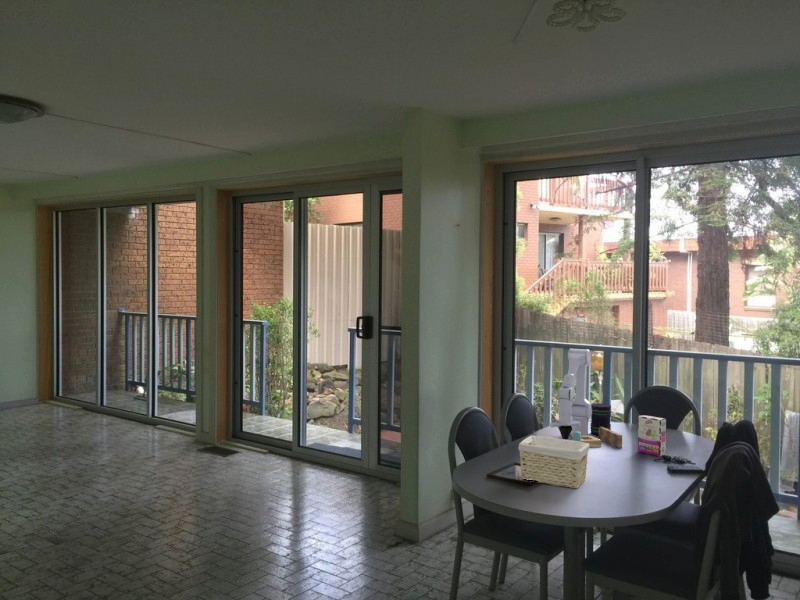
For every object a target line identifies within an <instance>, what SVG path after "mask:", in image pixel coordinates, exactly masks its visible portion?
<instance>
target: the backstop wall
mask: <svg viewBox="0 0 800 600" xmlns="http://www.w3.org/2000/svg"><path fill="white" fill-rule="evenodd" d="M598 439H600V440H602V441H601V442H603V443H606V444H608V445H610V444H611V446H612V445H613V446H612V447H614V446H615V447H614V448H616V447H617V448H616V449H622V448H623V435H622V434H620V433H618V432H616V431H613V430H612V429H611V430H609V429H606V428H604V427H599V436H598Z"/></svg>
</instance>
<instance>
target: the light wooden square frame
mask: <svg viewBox="0 0 800 600" xmlns="http://www.w3.org/2000/svg"><path fill="white" fill-rule="evenodd" d="M588 435H589V436H581V442H584V443H589V448H602V441H601V440H599V438H597V437H596V436H593V435H591V434H588ZM570 436H571V438H570V440H572V441H573V436H572V435H570Z"/></svg>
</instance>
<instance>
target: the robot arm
mask: <svg viewBox="0 0 800 600" xmlns="http://www.w3.org/2000/svg"><path fill="white" fill-rule="evenodd" d="M591 354H592V353H591V351H590V349H588V348H586V349H582V348H572V347H571V348H569V349H568V351H567V358H568V362H569V366H568V370H567V374H565V375H564V377H563V378H562V384H561V386H560V387H559V388H558V389H557V393H556V394H557V396H556V397H557V403H559V404H558V421H553V422H552V421H550V422H549V427H550V428H558V431H559V433H560V435H561V439H564V440H569V437H570V436H573V435H574V432H575V431H577V432H581V436H589V435H590V434H589V419H590V418H591V415H592V408H591V404H592V403H591V402H590V401H589V400H588V399H587V373H588V372H587V370H588V367H589V366H591V361H592V360H591V359H592V358H591V357H592V356H591ZM574 397H575V398H574Z"/></svg>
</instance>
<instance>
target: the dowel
mask: <svg viewBox="0 0 800 600" xmlns="http://www.w3.org/2000/svg"><path fill="white" fill-rule="evenodd" d="M573 441H579V442H581V432H577V431H575V432H574V435H573Z"/></svg>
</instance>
